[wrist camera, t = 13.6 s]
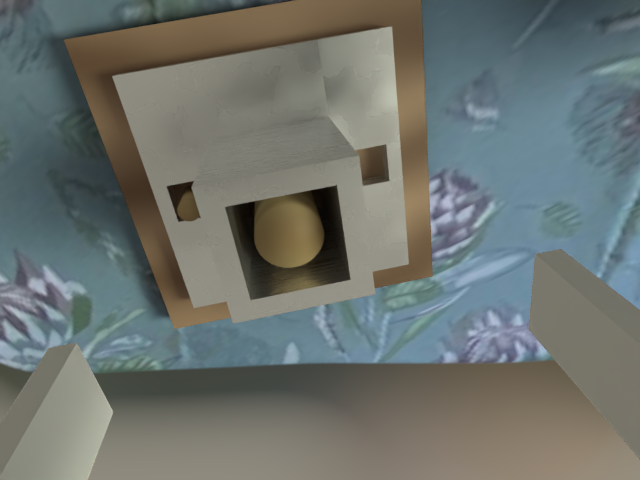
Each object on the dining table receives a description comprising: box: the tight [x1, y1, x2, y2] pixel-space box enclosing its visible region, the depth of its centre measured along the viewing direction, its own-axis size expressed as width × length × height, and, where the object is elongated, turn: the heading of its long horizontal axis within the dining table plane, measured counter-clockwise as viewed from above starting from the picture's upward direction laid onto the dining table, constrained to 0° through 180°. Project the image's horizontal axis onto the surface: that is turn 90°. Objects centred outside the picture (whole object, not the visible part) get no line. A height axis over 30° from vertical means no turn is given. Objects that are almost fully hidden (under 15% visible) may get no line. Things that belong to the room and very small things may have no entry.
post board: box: [64, 0, 433, 329], centre depth 23 cm, size 18×18×10 cm
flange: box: [112, 26, 409, 323], centre depth 22 cm, size 14×14×9 cm
